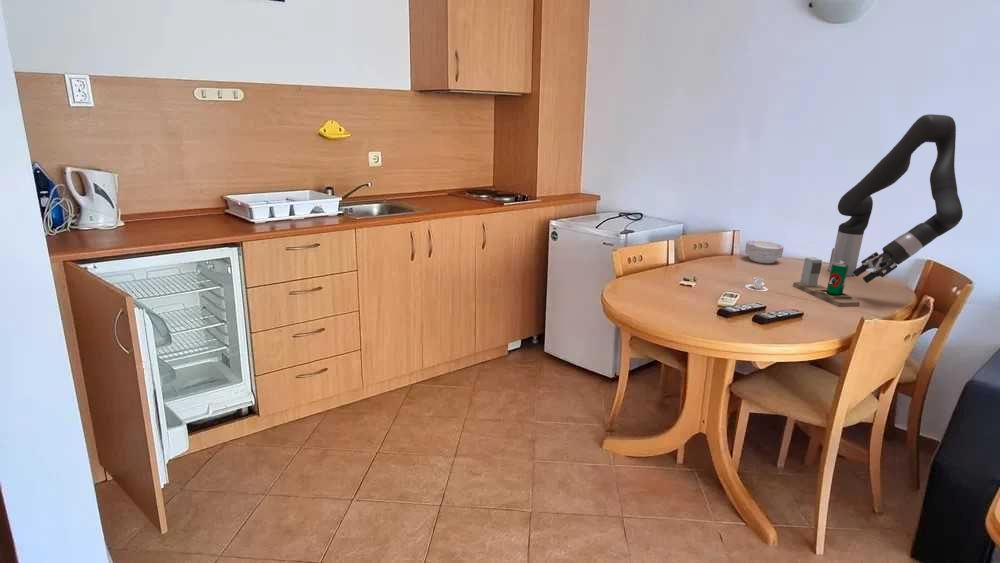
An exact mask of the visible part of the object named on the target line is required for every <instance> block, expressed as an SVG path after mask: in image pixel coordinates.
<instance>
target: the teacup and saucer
mask: <svg viewBox="0 0 1000 563" xmlns="http://www.w3.org/2000/svg"><path fill="white" fill-rule="evenodd" d="M763 281H764V279H763V278H762V277H754V278H753V282H752V284H745V286H744V287H745V288H746V289H748V290H750V291H751V290H752V291H754V292H766V291H768V290H769V289H768V287H766V286H765V282H763ZM750 287H753V288H750ZM761 288H763V289H761Z"/></svg>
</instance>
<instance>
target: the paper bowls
mask: <svg viewBox="0 0 1000 563" xmlns="http://www.w3.org/2000/svg"><path fill="white" fill-rule="evenodd" d="M744 251H745V254H747V255H748V257H749V259H750V260H751V261H752V262H755V263H758V264H759V263H760V264H774V263H776V261H777V259H781V258H782V257H783V252H784V245H782V244H780V243H778V242H774V241H767V240H762V239H761V240H760V239H759V240H758V239H751V240H747V241H746V244H745V249H744Z"/></svg>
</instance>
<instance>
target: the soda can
mask: <svg viewBox="0 0 1000 563" xmlns="http://www.w3.org/2000/svg"><path fill="white" fill-rule="evenodd" d="M848 267H849V266H848V263H847V262H843V261H834V263H833V264H832V267H831V272H830V271H829V272H830V273H829V278H828V282H827V287H826V288H827V291H826V292H827V294H829V295H831V296H841V295H842V294H843V293H844V289H845V284H846V279H847V277H848V276H847V271H848Z"/></svg>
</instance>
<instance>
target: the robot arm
mask: <svg viewBox="0 0 1000 563" xmlns="http://www.w3.org/2000/svg"><path fill="white" fill-rule="evenodd" d="M956 127H957V126H956V121H955V120H954V118H953V117H951V116H950V115H947V114H946V115H945V114H944V115H943V114H934V113H933V114H931V113H929V114H924V115H922V116H920V117H918V118H917V120H915V121H914V123H912V125H911V126H910V127H909V129H908V130H907V131H906V132H905V134H904V135H903V136H902V138H901V139H900V140H899V141H898V142H897V143H896V144H895V145H894V146H893V148H892V149H891V150H890V151H888V153H886V155H885V156H884V157H883V158H882V159H881V160H880V161H878V162H877V164H876V165H874V167H873V168H872V169H871V170H870V171H869V172H868V173H867V174H866V175H865V176H864V177H863V178H862V179H861V180H860V181H859V182H857V183H856V185H854V186H853V187H851V188H850V189H849V190H848V191H847V192H846V193H845V194H843V195H842V196H841V198H839V201H838V204H837V210H838V213H839V214H840V215H842V216H846V217H850V218H848V220H846V221H844V222H842V223H840V224H839V225H838V228H837V229H838V230H837V234H836V239H835V243H834V247H833V248H832V249H831V254H830V259H829V264H828V271H829V272H831V267H832V264H833V263H834V261H843V262H847V263H848V266H849V267H848V271H847V276H846V277H848V276H849V277H853V276H856V277H859V276H860V275H862V274H863V273H865V272H866V271H868V270H870V269H873V271H871V272H869V273H867V274H866V275H865V276H863V277H862V280H863V281H864V282H865V283H866V284H867V283H868V284H869V283H870V282H871V281H873V280H874V279H876V278H880V277H881V278H884V277H885V276H887V275H888V274H890V273H891V272H892V271H894V270H896V269H897V268H898V266H899V265H901V264H903V262H905V261H906V260H908V259H909V258H911V257H913V256H914V255H916V254H917V253H918V252H919V251H921V249H923V248H925V246H928V244H931V242H933V241H934V240H936V239H937V238H938V237H940V236H942V235H944V234H945V233H947V232H949V231H951V230H952V229H954V228H955V227H956V226H957V225H959V224H960V222H961V220H962V219H963V207H962V203H961V199H960V197H959V195H958V184H957V179H956V173H955V172H956V170H955V169H956V168H955V160H956V159H955V158H956V141H957V140H956V138H957V136H956V135H957V128H956ZM925 143H935V147H936V151H937V154H936V159H935V163H934V164H933V167H932V169H931V172H930V175H929V184H930V190H931V196H932V197H931V198H932V199H933V200H934V203H935V204H934V205H935V212H936V213H935V214H933V216H931V217H930V218H927V220H925V221H923V222H921V223H918V224H917V225H915V226H914V227H912V228H911V229H909V230H908V231H907V232H905V233H903V234H901V235H899V236H898V237H896V238H894V239H893V240H892V241H891V242H889V243H888V244H886V245H885V246H883V248H882V253H878V252H877V251H875V252H874V253H872V254H870V255H869V256H868V257H866V258H864V259H863V260H861V262H860V263H861V265H860V266H859V267H858V266H857V265H858V262H859V256H860V252H861V248H862V243H863V238H864V234H865V231H866V229H867V227H868V226H869V222H870V218H871V215H872V211H873V208H874V207H873V205H874V201H873V197H872V195H873V194H876V193H878V192H880V191H882V190H884V189H887V188H888V187H890V186H892V185H894V184H895V183H896V182H897V181H899V179H901V178H902V177H903V175H905V173H907V171H908V170H909V168H910V165H911V159H912V158H911V157H912V155H913V154H914V153H915V151H916V150H917V149H918V148H919V147H921V146H922V145H923V144H925ZM852 275H853V276H852Z"/></svg>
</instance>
